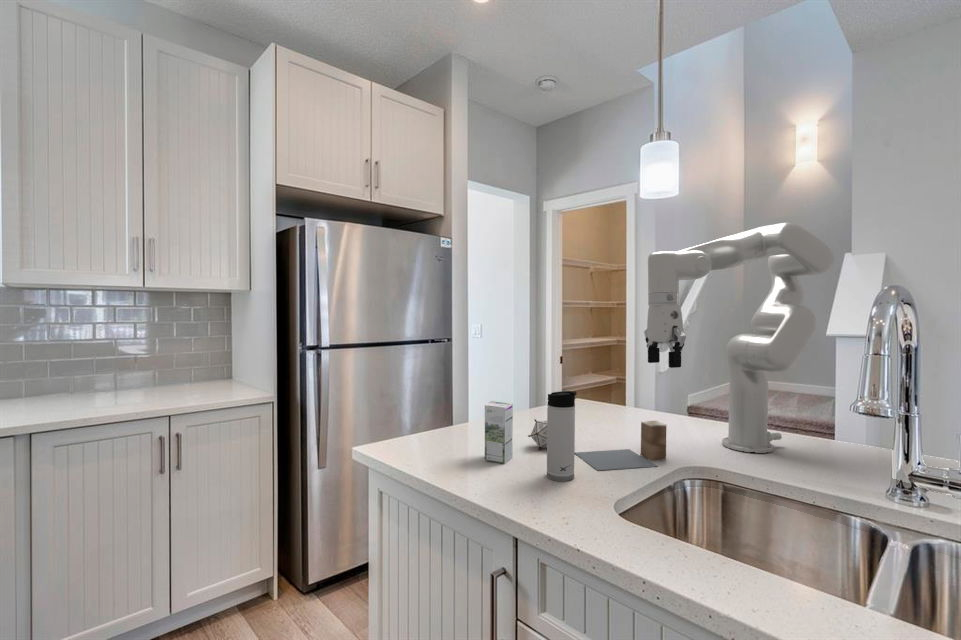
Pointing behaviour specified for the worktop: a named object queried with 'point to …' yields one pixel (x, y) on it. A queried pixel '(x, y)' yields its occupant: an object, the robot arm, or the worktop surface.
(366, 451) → the worktop surface
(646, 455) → the pillar block
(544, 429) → the game die
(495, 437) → the syrup box
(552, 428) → the travel mug
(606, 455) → the mat
